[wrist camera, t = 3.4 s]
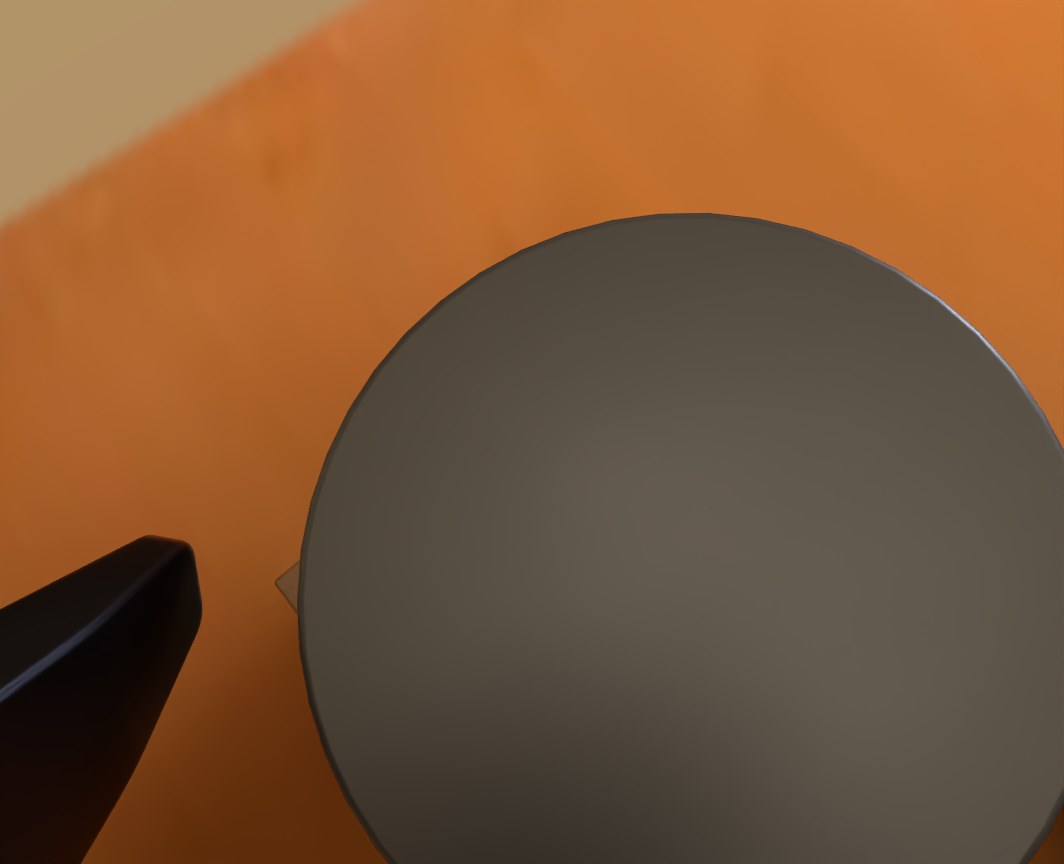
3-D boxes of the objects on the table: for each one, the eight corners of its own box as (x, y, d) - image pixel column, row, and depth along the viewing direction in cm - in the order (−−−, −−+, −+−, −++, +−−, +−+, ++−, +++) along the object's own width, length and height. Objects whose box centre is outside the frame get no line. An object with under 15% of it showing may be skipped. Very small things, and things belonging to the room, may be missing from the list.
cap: (637, 938, 14) (645, 1242, 7) (368, 590, 16) (137, 534, 8) (969, 644, 15) (1309, 637, 7) (677, 332, 16) (717, 62, 9)
